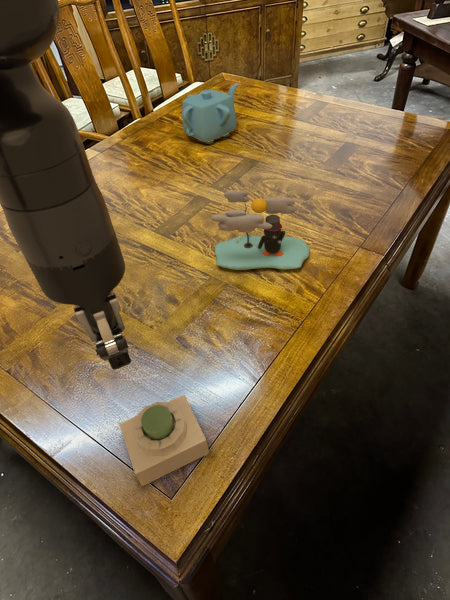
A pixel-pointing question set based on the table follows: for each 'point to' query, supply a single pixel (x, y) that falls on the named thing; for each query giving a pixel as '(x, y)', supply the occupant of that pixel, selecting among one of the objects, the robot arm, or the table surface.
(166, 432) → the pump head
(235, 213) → the penguin figurine
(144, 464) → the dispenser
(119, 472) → the table surface
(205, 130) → the teapot
